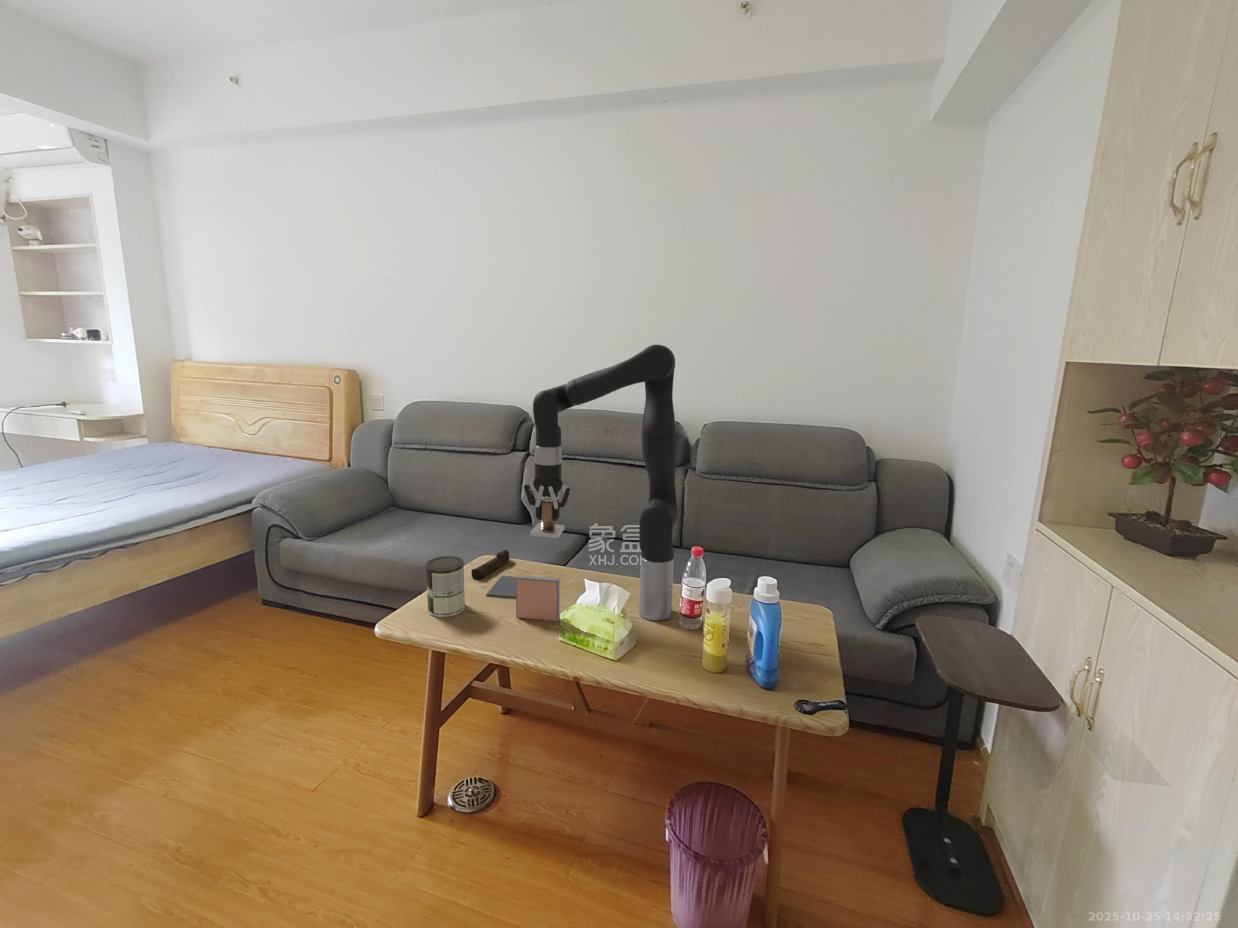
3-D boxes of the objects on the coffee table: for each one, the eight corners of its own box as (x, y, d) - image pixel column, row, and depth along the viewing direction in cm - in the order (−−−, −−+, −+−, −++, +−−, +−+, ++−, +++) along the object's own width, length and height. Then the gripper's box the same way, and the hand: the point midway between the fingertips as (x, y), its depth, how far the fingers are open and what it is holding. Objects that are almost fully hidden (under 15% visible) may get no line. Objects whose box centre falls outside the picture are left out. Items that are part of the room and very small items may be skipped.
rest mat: (543, 580, 179) (543, 578, 179) (531, 599, 165) (531, 597, 165) (501, 577, 181) (501, 575, 181) (486, 595, 167) (486, 594, 167)
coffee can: (419, 612, 156) (417, 565, 153) (445, 598, 165) (443, 553, 162) (447, 620, 152) (445, 572, 149) (472, 605, 161) (471, 559, 158)
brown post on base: (564, 528, 163) (564, 498, 161) (557, 538, 155) (558, 506, 153) (538, 526, 164) (538, 496, 162) (530, 535, 156) (530, 504, 154)
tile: (559, 618, 154) (559, 578, 152) (558, 622, 153) (558, 581, 150) (517, 615, 156) (517, 575, 153) (515, 618, 154) (515, 577, 152)
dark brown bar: (480, 581, 178) (480, 568, 177) (470, 579, 179) (470, 565, 178) (515, 562, 194) (515, 549, 193) (506, 560, 196) (506, 547, 195)
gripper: (576, 460, 158) (574, 517, 162) (527, 457, 160) (527, 514, 164) (570, 465, 151) (568, 525, 154) (519, 462, 153) (519, 521, 156)
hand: (547, 519), depth 159 cm, fingers closed on brown post on base, 4 cm apart
